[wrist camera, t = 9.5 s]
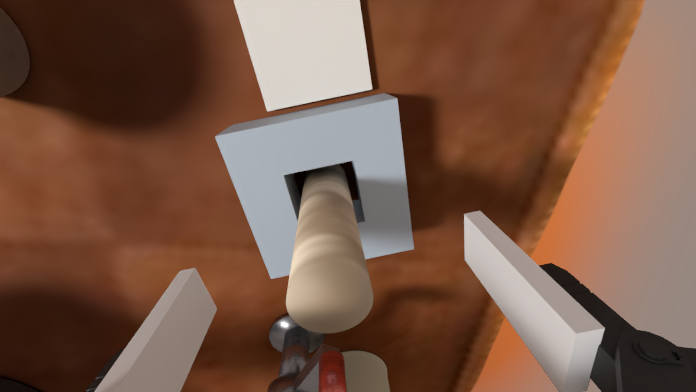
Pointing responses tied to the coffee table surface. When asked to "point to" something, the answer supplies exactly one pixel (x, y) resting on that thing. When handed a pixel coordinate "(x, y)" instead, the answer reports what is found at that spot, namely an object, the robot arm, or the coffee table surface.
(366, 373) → the can
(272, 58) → the mat
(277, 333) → the crank post
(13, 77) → the flower pot
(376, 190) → the block
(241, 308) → the coffee table surface
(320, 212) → the dowel
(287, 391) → the chrome ball lever
